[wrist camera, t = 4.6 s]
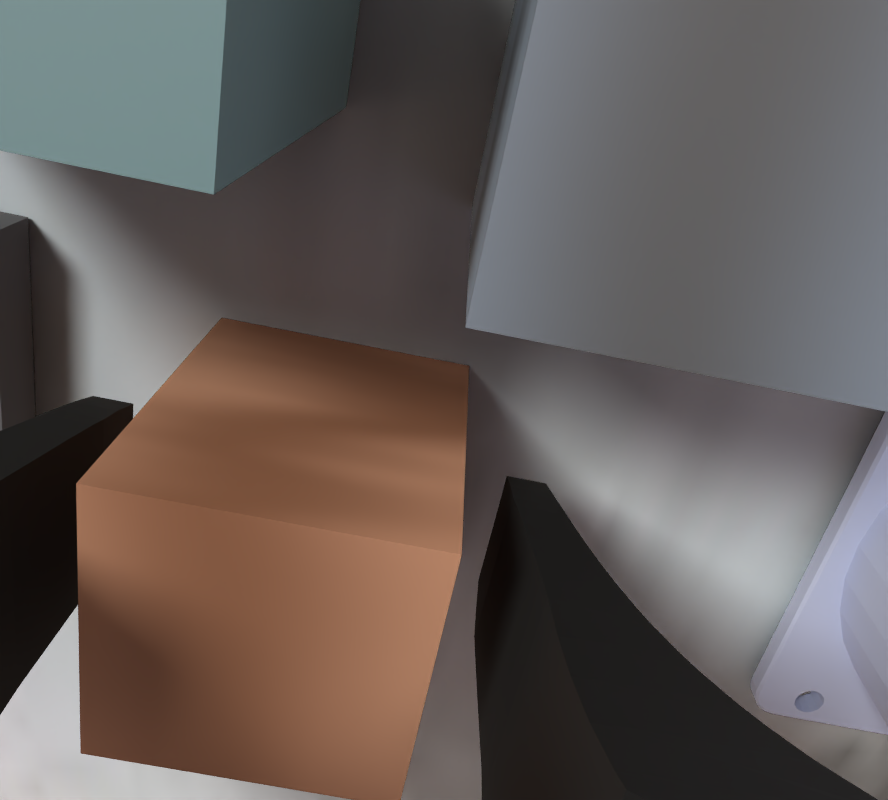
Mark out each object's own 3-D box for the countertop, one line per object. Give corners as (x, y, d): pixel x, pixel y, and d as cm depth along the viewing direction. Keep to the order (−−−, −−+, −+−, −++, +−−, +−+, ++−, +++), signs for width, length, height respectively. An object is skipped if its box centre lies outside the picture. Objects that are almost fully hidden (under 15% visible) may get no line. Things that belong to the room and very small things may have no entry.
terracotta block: (468, 365, 13) (462, 554, 8) (424, 561, 14) (398, 807, 10) (222, 316, 12) (75, 483, 8) (207, 521, 14) (80, 752, 10)
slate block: (845, -41, 10) (1141, -85, 6) (734, 260, 12) (889, 411, 7) (538, -111, 10) (585, -215, 5) (472, 206, 12) (465, 327, 7)
